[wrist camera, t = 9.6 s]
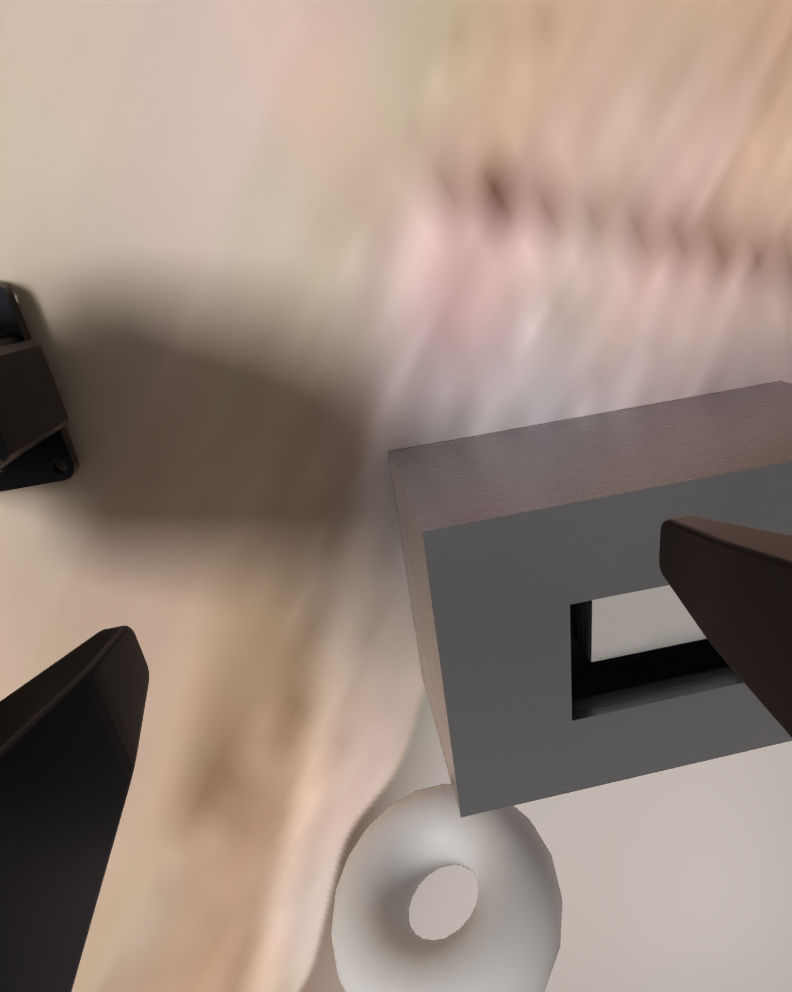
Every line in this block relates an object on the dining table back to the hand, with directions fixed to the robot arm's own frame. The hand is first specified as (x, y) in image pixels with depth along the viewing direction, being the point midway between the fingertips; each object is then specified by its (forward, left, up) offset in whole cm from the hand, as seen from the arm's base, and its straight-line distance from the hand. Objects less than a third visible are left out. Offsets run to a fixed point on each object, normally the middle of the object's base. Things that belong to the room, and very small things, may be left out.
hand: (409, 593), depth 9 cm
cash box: (+9, -7, -12) cm, 17 cm away
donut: (0, -20, -12) cm, 23 cm away
